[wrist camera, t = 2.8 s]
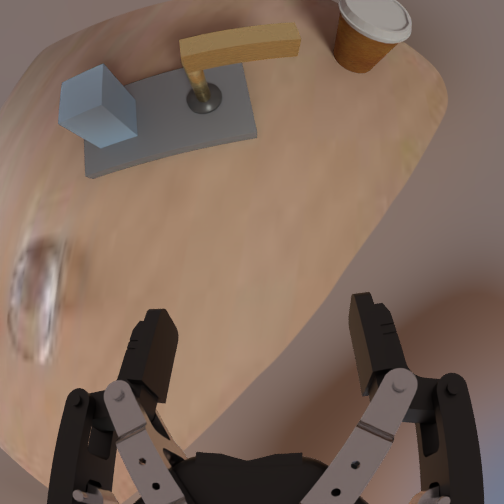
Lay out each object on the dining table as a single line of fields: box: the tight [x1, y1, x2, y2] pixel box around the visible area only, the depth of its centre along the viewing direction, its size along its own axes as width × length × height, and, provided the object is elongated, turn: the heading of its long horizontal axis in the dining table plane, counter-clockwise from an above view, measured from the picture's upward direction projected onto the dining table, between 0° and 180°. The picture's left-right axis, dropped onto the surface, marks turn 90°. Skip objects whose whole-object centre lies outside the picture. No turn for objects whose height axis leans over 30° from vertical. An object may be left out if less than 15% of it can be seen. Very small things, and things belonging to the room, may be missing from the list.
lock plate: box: [84, 63, 257, 179], centre depth 32 cm, size 23×12×4 cm, turn 100°
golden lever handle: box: [179, 23, 301, 102], centre depth 26 cm, size 11×2×11 cm, turn 100°
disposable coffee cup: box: [334, 0, 412, 73], centre depth 28 cm, size 10×10×12 cm
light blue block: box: [58, 64, 138, 148], centre depth 28 cm, size 6×6×10 cm
